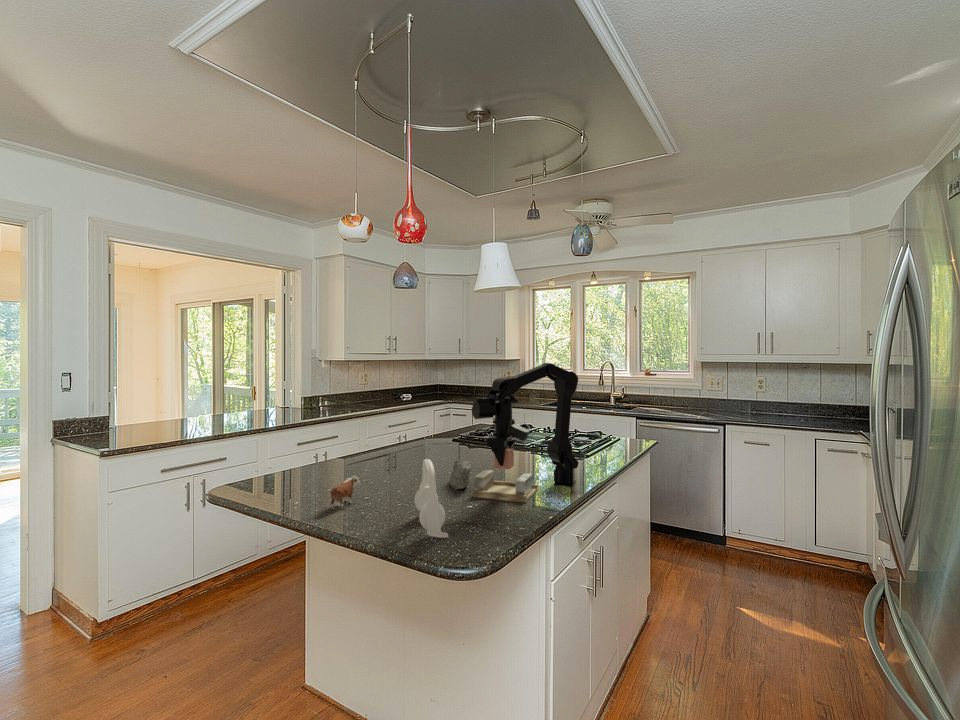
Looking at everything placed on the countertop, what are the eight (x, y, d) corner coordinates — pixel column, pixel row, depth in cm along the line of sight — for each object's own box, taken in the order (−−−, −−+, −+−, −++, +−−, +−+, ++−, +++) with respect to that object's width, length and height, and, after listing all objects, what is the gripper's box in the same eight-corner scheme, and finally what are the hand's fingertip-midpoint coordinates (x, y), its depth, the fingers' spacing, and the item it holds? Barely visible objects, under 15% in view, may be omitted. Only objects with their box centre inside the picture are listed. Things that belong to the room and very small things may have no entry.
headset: (414, 515, 145) (413, 454, 145) (438, 513, 147) (437, 452, 146) (420, 541, 126) (419, 470, 125) (448, 538, 127) (447, 468, 127)
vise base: (537, 490, 168) (537, 472, 168) (526, 502, 155) (525, 483, 155) (487, 485, 175) (487, 468, 175) (472, 496, 162) (472, 478, 162)
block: (499, 464, 168) (499, 446, 168) (513, 465, 167) (513, 447, 166) (494, 468, 164) (494, 449, 164) (509, 469, 162) (508, 450, 162)
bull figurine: (363, 499, 160) (362, 474, 160) (338, 513, 148) (337, 485, 148) (351, 498, 162) (350, 473, 162) (325, 511, 149) (325, 484, 149)
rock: (470, 491, 167) (471, 462, 168) (446, 490, 167) (447, 461, 168) (472, 486, 182) (473, 459, 183) (450, 486, 182) (451, 459, 183)
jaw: (533, 488, 167) (533, 473, 167) (524, 496, 158) (524, 481, 157) (524, 487, 168) (524, 473, 168) (515, 496, 159) (515, 480, 158)
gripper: (518, 422, 153) (519, 472, 153) (534, 413, 170) (535, 459, 171) (484, 420, 157) (485, 469, 158) (503, 412, 174) (504, 457, 175)
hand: (504, 463), depth 165 cm, fingers closed on block, 5 cm apart
